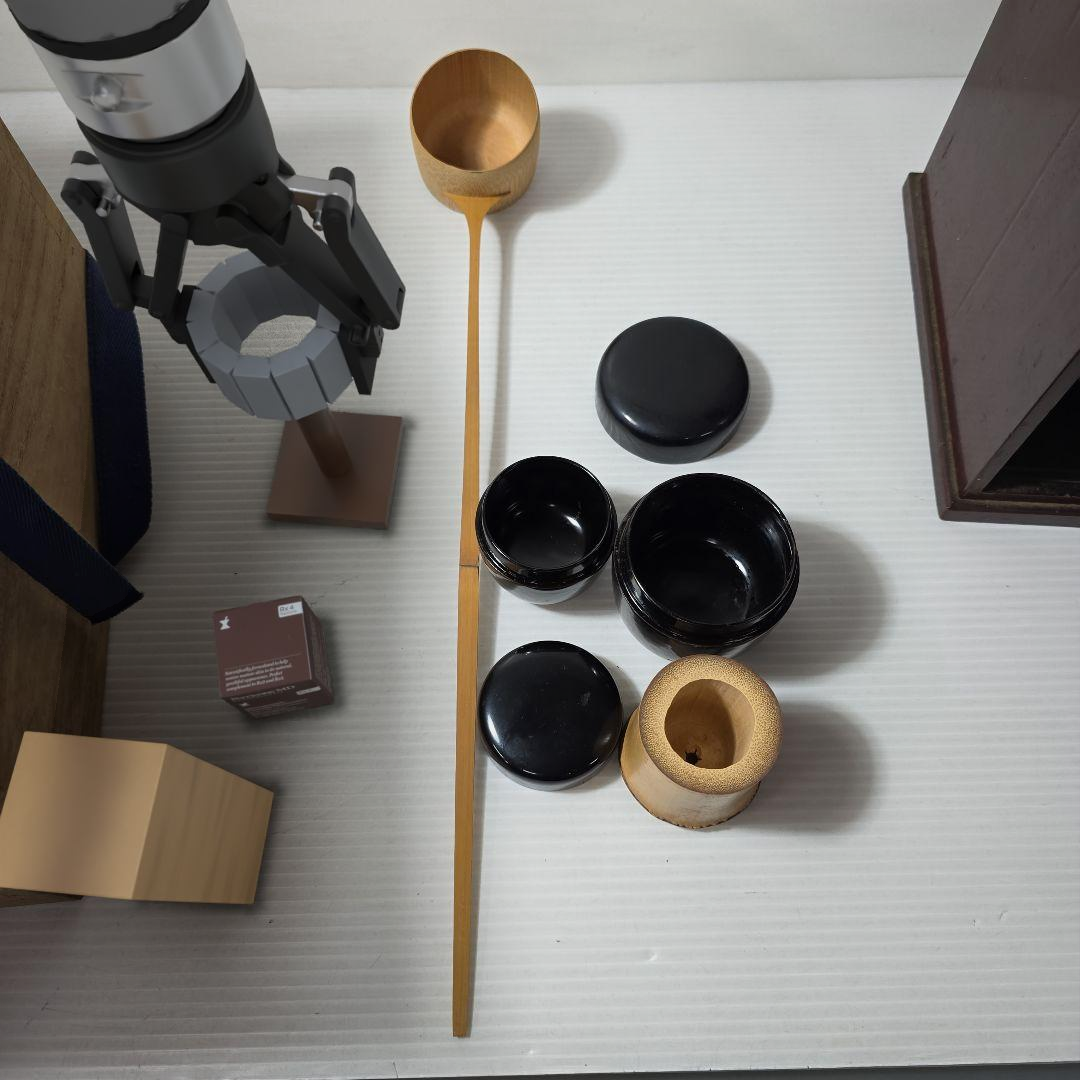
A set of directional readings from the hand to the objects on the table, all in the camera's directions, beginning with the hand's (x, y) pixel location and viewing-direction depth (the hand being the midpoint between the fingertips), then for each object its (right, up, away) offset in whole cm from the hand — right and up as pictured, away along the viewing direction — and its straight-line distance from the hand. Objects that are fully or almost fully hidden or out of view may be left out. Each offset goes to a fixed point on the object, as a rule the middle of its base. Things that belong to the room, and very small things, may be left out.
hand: (294, 370), depth 60 cm
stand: (-7, -31, +4) cm, 32 cm away
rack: (0, -5, +14) cm, 15 cm away
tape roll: (0, +1, -1) cm, 2 cm away
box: (-2, -20, +8) cm, 22 cm away
